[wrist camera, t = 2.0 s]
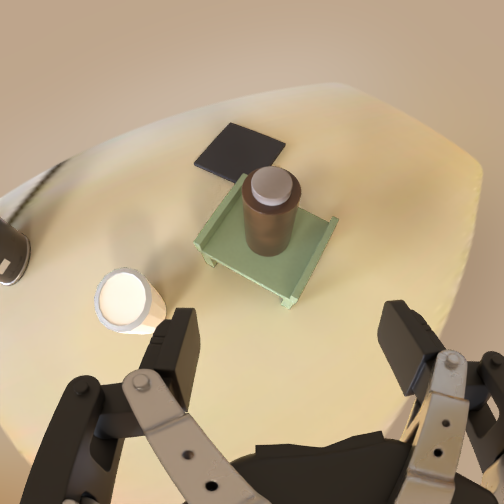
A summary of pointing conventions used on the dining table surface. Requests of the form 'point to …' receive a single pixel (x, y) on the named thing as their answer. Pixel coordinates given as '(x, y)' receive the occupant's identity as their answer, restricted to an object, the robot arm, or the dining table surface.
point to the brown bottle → (269, 209)
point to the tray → (259, 267)
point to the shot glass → (128, 302)
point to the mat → (238, 152)
